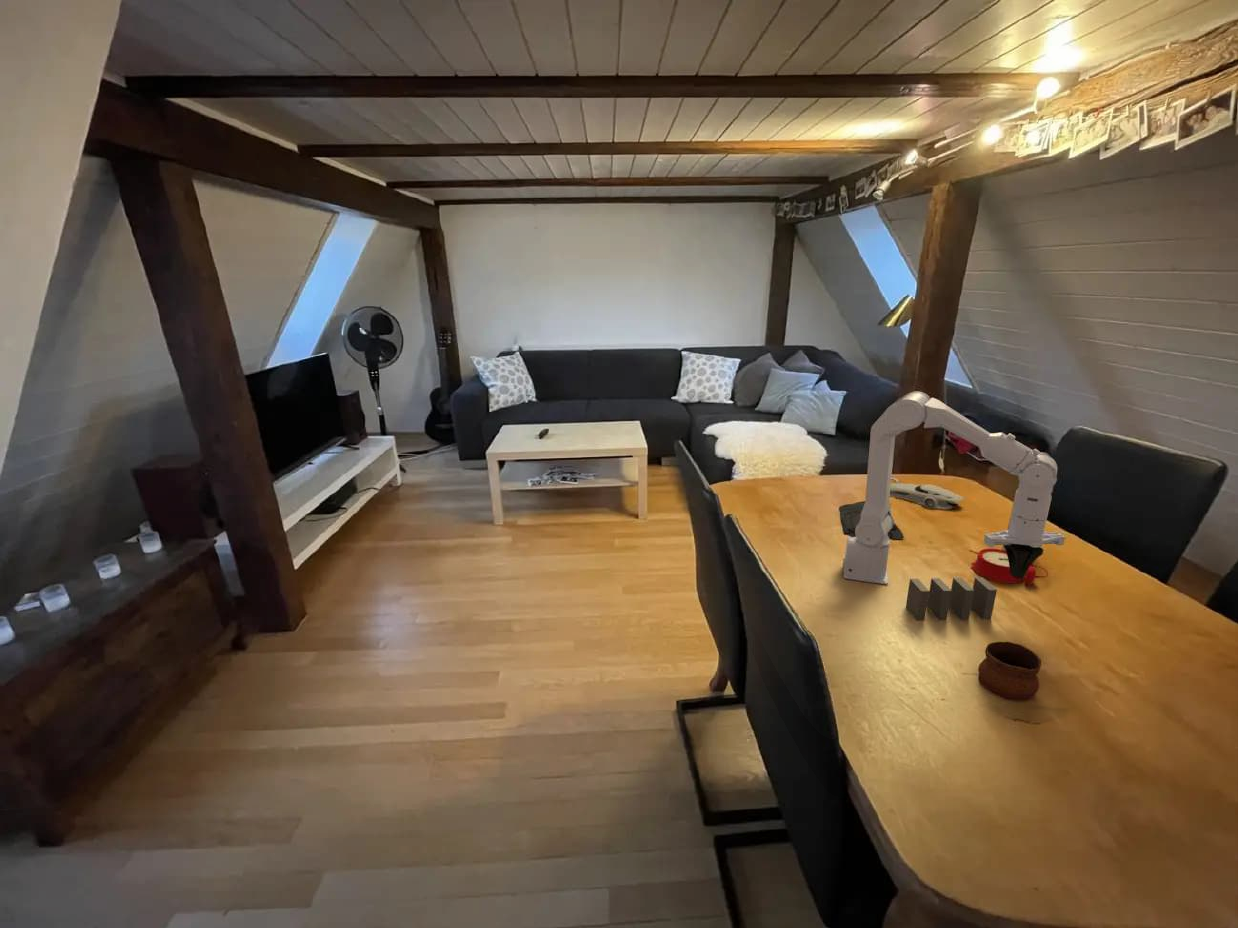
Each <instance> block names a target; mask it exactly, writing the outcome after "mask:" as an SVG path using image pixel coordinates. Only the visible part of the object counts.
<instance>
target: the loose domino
mask: <svg viewBox="0 0 1238 928" xmlns="http://www.w3.org/2000/svg"><path fill="white" fill-rule="evenodd" d="M908 583H909V585H908V590H907V598H906V603H905V608H906V610H907V611H908V612H909V614H910V615H911V616H912V617H913V619H915V621H916V622H923V621H924V622H925V620H926V615H927V609H928V608H927V603H928V597H929V591H930V589H928V588H927V587H926V586H925V584H924V583H922V581H921V580H920V579H919V578H910V579H909V582H908Z"/></svg>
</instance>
